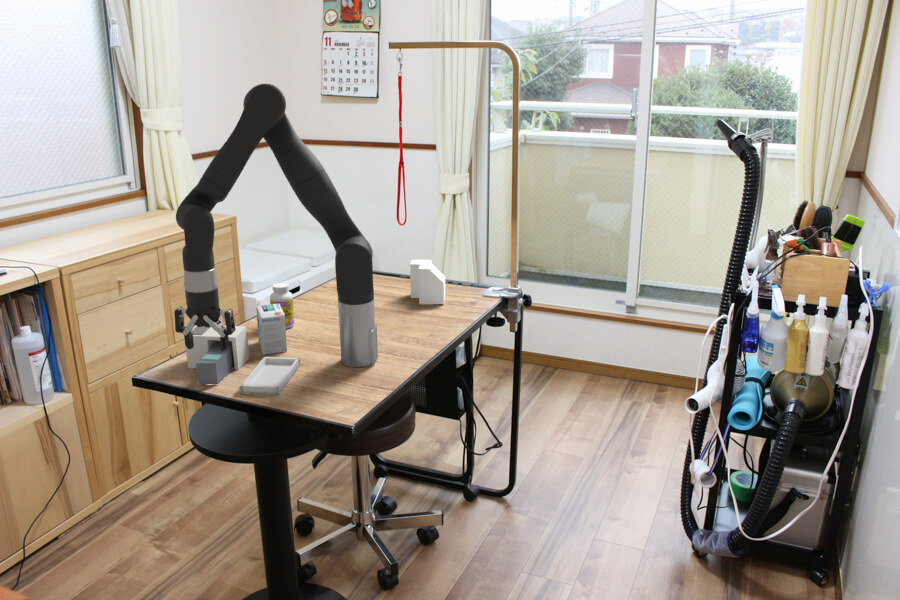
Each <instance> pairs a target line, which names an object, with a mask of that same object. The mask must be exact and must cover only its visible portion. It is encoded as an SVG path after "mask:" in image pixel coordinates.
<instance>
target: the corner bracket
mask: <svg viewBox="0 0 900 600" xmlns="http://www.w3.org/2000/svg"><path fill="white" fill-rule="evenodd" d="M409 264H410V265H409V266H410V267H409V268H410V270H409V274H410V277H409V278H410V299H411V298H419V299H418V304H419V305H433V304H444V305H445V302H444V301H446V276H445V275H444V274H443V273H442V272H441V271H440V270H439V269H438V268H437V267H436V265H434V264H433V261H432V260H431V259H411V261H410V263H409Z"/></svg>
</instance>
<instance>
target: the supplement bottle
mask: <svg viewBox="0 0 900 600" xmlns="http://www.w3.org/2000/svg"><path fill="white" fill-rule="evenodd" d="M289 289H290V285H289V283H286V282H277V283H274V284H272V291H273V292H272V293H271V294H270V295H269V303H270V304H269V305H272V304H280V306H281V308H282V310H283V312H284V314H285V328H286V330H287V329H291V328H292V327H294V325H295V309H294V308H295V307H294V296H293V293H292V292H290V291H289Z"/></svg>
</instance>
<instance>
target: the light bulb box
mask: <svg viewBox="0 0 900 600" xmlns="http://www.w3.org/2000/svg"><path fill="white" fill-rule="evenodd" d="M255 312H256V320H257V321H256V324H257V331H258V333H257V334H258V343H259V345H260V349H261V351H262V354H263V355H270V354H278V353H285V352H288V347H287V332H286V330H287V329H286V328H285V314H284V312H283V310H282V308H281V306H280V304H272V305H270V304H264V305H256V306H255Z"/></svg>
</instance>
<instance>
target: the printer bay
mask: <svg viewBox="0 0 900 600" xmlns="http://www.w3.org/2000/svg"><path fill="white" fill-rule="evenodd" d="M224 326H225V327H226V325H224ZM191 333H193V341H194V347H193V348H192V349H188V348H187V347H186V346H185V353H186V360H187V368H188V369H196V362H197V361H198V360H199V359H200V358H201V357H203V356H204V355H205V354H206V353H207V352H208V351H209V350H210V349H211V348H212V347H213V346H214V345H215V344H216V343H220V337H221V336H220V335H219V334H218V332H217V331H215V330H214V329H213V328H212V327H210V328H209V327H204V326H203V327H197V326H196V325H195V327H194V328H193V329H192V331H191ZM228 339H229V344H232V346H233V356H234V366H235V367H234V370H235V371H238V370H241V368H242V367H243V366H244V365H245V363H246V362H247V361H248V360H249V359H250V350H249V341H248V340H249V339H248V328H247V326H246V325H245V326H244V325H243V326H242V325H235V331H234V332H233V333H232V334H231V335H228Z"/></svg>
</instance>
